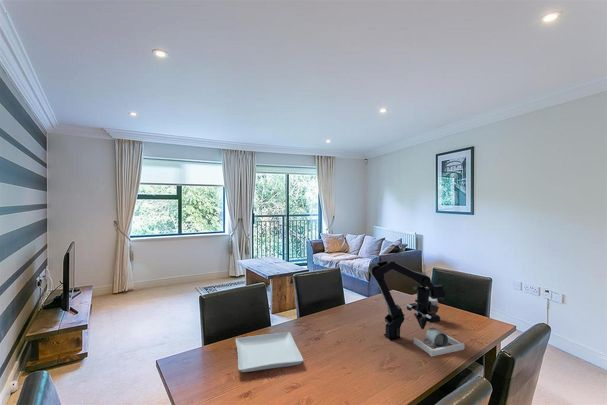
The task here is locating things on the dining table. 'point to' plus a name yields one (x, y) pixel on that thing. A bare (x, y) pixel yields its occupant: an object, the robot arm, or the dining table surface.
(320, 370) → the dining table surface
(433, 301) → the disposable coffee cup
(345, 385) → the dining table surface
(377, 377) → the dining table surface
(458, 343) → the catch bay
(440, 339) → the ceramic mug
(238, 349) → the square plate
